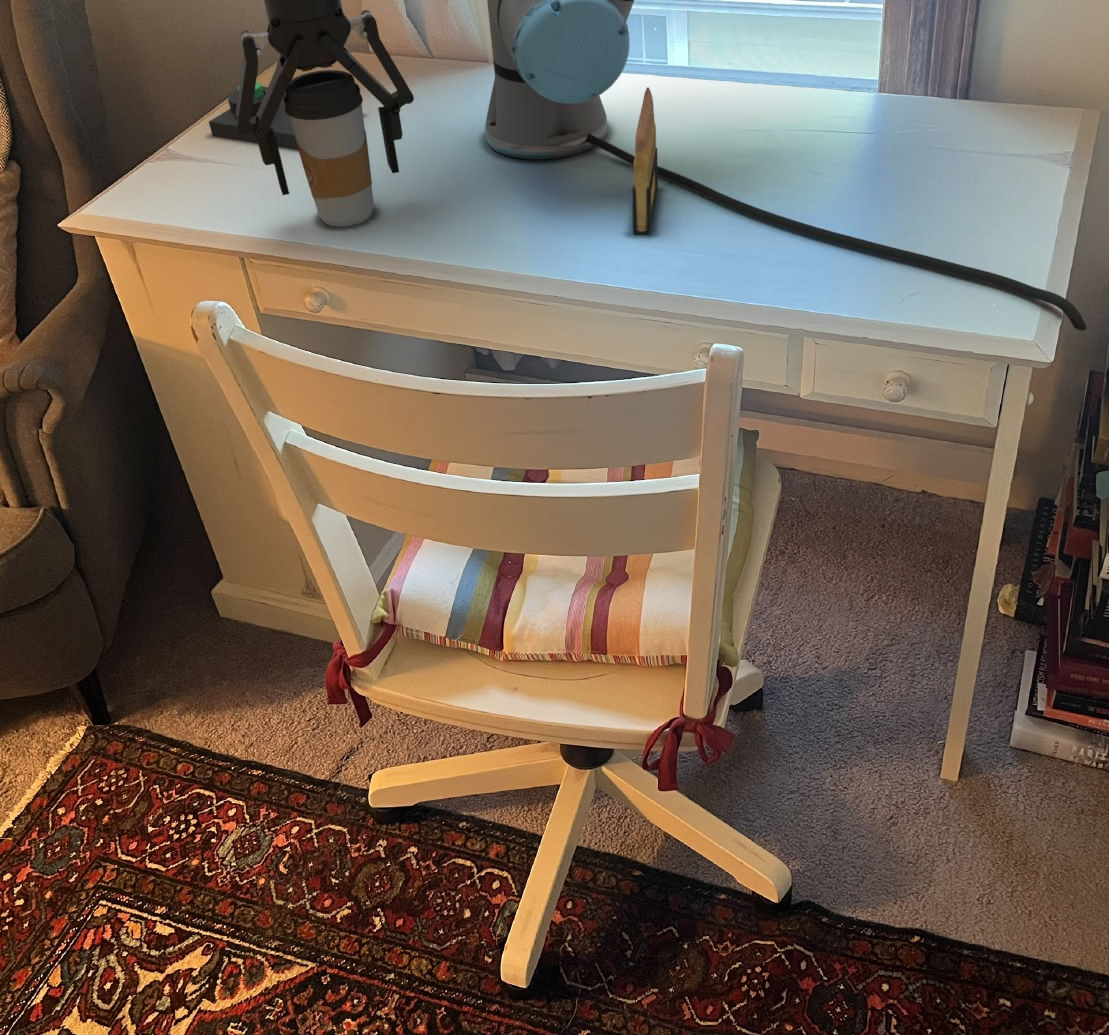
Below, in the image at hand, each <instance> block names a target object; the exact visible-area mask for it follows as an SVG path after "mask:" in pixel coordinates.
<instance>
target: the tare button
mask: <svg viewBox="0 0 1109 1035" xmlns="http://www.w3.org/2000/svg"><path fill="white" fill-rule="evenodd" d="M239 86H240V84H239V85H238V86H237V91H238V93H239ZM262 86H263V85H262V83H261V82H259V81H256V85H255V92H254V99H253V100H256V99H259V98H262V97H263V96H264V92H263V88H262Z"/></svg>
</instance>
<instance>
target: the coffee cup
mask: <svg viewBox="0 0 1109 1035" xmlns="http://www.w3.org/2000/svg"><path fill="white" fill-rule="evenodd" d="M363 100H364V98H363V96H362V94H361V88H360V86H359V84H358V83H356V81H355V77H354V76H353V75H352V74H351V73H350V72H347V71H344V70H338V69H337V70H336V69H328V70H327V69H326V70H325V69H323V70H316V71H311V72H307V73H303V74H301V75H299V76H296V77H293V78H292V80H291V81H290V82H289V85H288V87H287V89H286V94H285V96H284V103H285V111H286V113H287V114H288V115H289V118H290V122H291V125H292V128H293V132H294V135H295V138H296V141H297V142H296V144H297V148H298V149H297V151H298V154H299V156H300V161H301V163H302V167H303V170H304V174H305V178H306V180H307V184H308V188H309V190H310V193H311V196H312V198H313V201H314V204H315V208H316V210H317V214H318V216H319V218H320V219H321V220H322V222H323V223H324V224H326V225H328V226H332V227H339V228H340V227H341V228H342V227H350V226H355V225H358V224H361V223H363V222H365V221H367V220H368V219H369V218H370V217H371V216H372V215H373V210H374V209H375V208H374V207H375V203H374V195H373V180H372V172H371V163H370V162H371V161H370V156H369V155H370V154H369V147H368V138H367V130H366V128H365V120H364V119H365V118H364V111H363Z"/></svg>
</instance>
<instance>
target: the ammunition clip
mask: <svg viewBox="0 0 1109 1035" xmlns="http://www.w3.org/2000/svg"><path fill="white" fill-rule="evenodd" d="M641 104H642V105H641V108H640V112H639V113H640V114H639V118H638V122H637V127H636V132H635V142H634V146H635V148H634V156H635V158H634V165H633V184H632V189H631V192H632V195H631V196H632V234H640V235H641V234H648V235H649V234H651V232H652V226H653V220H654V215H655V208H656V202H657V196H658V190H659V189H658V187H659V186H658V185H659V184H658V183H659V182H658V176H659V175H658V172H657V166H658V147H657V129H656V128H657V127H656V122H655V110H654V109H655V108H654V99H653V94H652V91H651V89H650V87H646V89H645V91H644V95H643V99H642V103H641Z"/></svg>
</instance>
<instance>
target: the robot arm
mask: <svg viewBox="0 0 1109 1035" xmlns="http://www.w3.org/2000/svg"><path fill="white" fill-rule="evenodd" d="M486 1H487V12H488V13H487V14H488V22H489V32H490V42H491V51H492V62H493V72H494V79H493V84H492V89H491V94H490V99H489V104H488V109H487V114H486V119H485V126H484V127H485V135H486V141H487V144H488V145H489V146H490V148H491V149H493V150H494V151H495V152H498V153H500V154H502V155H505V156H508V157H512V158H516V159H517V158H518V159H524V160H549V159H559V158H565V157H570V156H573V155H574V156H575V155H577V154H579V153H583V152H585V151H588V150H590V149H592V148H594V147H597V148H599V149H601V150H603V151H605V152H607V153H609V154H612V155H613V156H615V157H617V158H619V159H621V160H623V161H625V162H627V163H629V164H631V165H633V166H634V158H635V155H634V154H631V153H629V152H627V151H625V150H624V149H621V148H619V147H617V146H615V145H614V144H611V143H610V142H608V141H605V140H604V139H605V137H606V136H607V133H608V122H607V120H608V119H607V113H606V110H605V107H604V105H603V101H602V99H601V95H602V94H604V93H605V92H606V91H607V90H609V89H610V88H611V87H613V85H614V84H615V83H616V81H617V80H618V79H619V78H620V77H621V74H622V73H623V72H624V69H625V67H626V65H627V61H628V58H629V55H630V54H629V53H630V32H629V26H628V24H627V21H628V18H629V15H630V13H631V11H632V8H633V5H634V3H635V0H486ZM263 3H264V7H265V11H266V17H267V22H268V26H267V29H266V31H261V32H255V33H254V32H253V33H252V32H250V31H249V30H243V31H242V32H240V36H239V38H240V43H241V47H242V53H243V57H242V58H243V59H242V65H241V73H240V79H239V85H240V86H239V85H238V86H239V93H238V100H237V108H236V115H235V124H236V128H237V131H238V133H239V134H241V135H245V134H251V135H254V136H255V137H256V138H257V141H258V143H257V146H258V149H259V153H260V156H261V160H262V163H263V164H264V165H265V166H271V165H274V169H275V173H276V177H277V182H278V185H279V189H280V192H281V194H282V196H287V195H290V191H289V187H288V183H287V178H286V174H285V173H286V172H285V170H284V166H283V165H284V164H283V161H282V158H281V153H280V148H279V146H278V145H277V140H276V136H275V133H274V131H273V128H272V127H271V128H270V126H271V124H272V122H273V119H274V117H275V115H276V112H277V110H278V108H279V105H280V103H281V101H282V99H283V96H284V94H285V92H286V89H287V87H288V85H289V82H290V81H291V80H292V79H294V76H295V74H296V73H297V72H296V71H297V70H299V71H302V72H303V73H304V72H309V71H313V70H314V69H316V68H323V69H326V68H332V67H333V65H334V64H335V63H337V62H338V63H339V64H340V65H341V66H342V67H343V68H344V69H345V70H346V71H348V73H349V74H351V75H352V76H353V78H354V79H356V80H357V82H359V83H360V84H361V85H362V86H363V87H364V88H365V89H366V90H367V91H368V92H369V93H370V94H371V95H372V96H373V97H374V98H375V99H376V100H377V101H378V102H379V103H380V104H381V105H382V106H378V108H377V110H378V115H379V122H380V126H381V132H382V139H383V143H384V149H385V156H386V162H387V165H388V167H389V169H390V171H391V173H392V174H397V173H400V169H399V168H400V167H399V162H398V156H397V150H396V145H395V144H396V143H395V141H399V140H402V139H403V134H404V133H403V128H402V122H401V121H402V120H401V116H400V112H401V109H402V107H403V106H405V105H409V104H412V103H413V102H414V101H415V97H414V94H413V92H412V91H411V89H410V88H409V86H408V84H407V82H406V81H405V79H404V77H403V75H402V74H401V72H400V70H399V69H398V67H397V65H396V64H395V61H394V60H393V58H392V57H391V55H390V52H388V50H387V48H386V46H385V45H384V43H383V41H382V40H381V38H380V34H379V33H380V32H379V28H378V24H377V23H378V22H377V20H376V18H375V17H374V15H373V14H372V12H371V11H370V10H367V9H364V10H362V11H361V13H360V14H359V15H354V16H348V17H347V16H346V14H345V13H344V10H343V5H342V0H263ZM352 31H355V32H356V33H357V35H358V36H359V38H361V39H362V40H363V39H364V40H365V39H366V41H367V42H368V44H369V46H370V48H371V49H372V51H373V53H374V54H375V56H376V58H377V59H378V61H379V63H380V64H381V66H382V68H383V69H384V71H385V73H386V74H387V77H388V78H389V79H390V81H391V83H392V84H393V86H394V88H395V91H393V92H392V93H390V91H389V90H388V89H387V88H386V87H385V86H384V85H383V84H382V83H381V82H380V81H379V80H378V79H377V78H376V77H375V76H374V75H373V74H372V73H371V72H370V71H369V70H368V69H367V68H366V67H365V66H364V65H363V64H361V63H360V61H358V59H357V58H356V57H355V56H354V55H353V54H352V53H351V52H350V51H349V50H348V49H347V48H346V47H345V45H346V43H347V41H348V39H349V36H350V34H351V32H352ZM268 45H270V46H271V47H272V48H273V50H275V51H276V53H278V54H279V57H278V60H277V62H276V66H275V69H274V72H273V74H272V76H271V79H270V82H269V84H268V86H267V87H268V89H267V91H266V93H265V96H264V98H263V100H262V103H261V105H260V107H259V110H258V112H257V114H256V117H255V119H251V112H252V105H253V99H254V92H255V85H256V82H257V79H258V78H257V77H258V72H259V58H261V57H262V56H264V54H265V49H266V47H267V46H268ZM657 172H658V176H659V177H661V178H664V179H667V180H669V181H672V182H674V183H676V184H678V185H681V186H683V187H686V188H688V189H690V190H692V191H694V192H697V193H699V194H701V195H703V196H706V197H707V198H709V199H712V200H714V201H715V202H718V203H720V204H722V205H725V206H726V207H729V208H731V209H734V210H737V211H739V212H741V213H744V214H746V215H749V216H751V217H755V218H757V219H760V220H761V221H765V222H768V223H771V224H774V225H777V226H778V227H779V226H780V227H782V228H786V229H789V230H792V231H795V232H798V233H801V234H805V235H808V236H811V237H815V238H819V239H822V240H824V241H828V242H832V243H836V244H839V245H843V246H848V247H850V248H854V249H859V250H862V251H865V252H869V253H873V254H877V255H881V256H885V257H889V258H893V259H896V260H901V261H904V262H908V263H913V264H916V265H919V266H924V267H928V268H932V269H935V270H939V271H941V272H946V273H950V274H953V275H957V276H962V277H964V278H969V279H973V280H976V281H977V280H978V281H981V282H985V283H988V284H992V285H994V286H998V287H1002V288H1005V289H1007V290H1010V291H1013V292H1015V293H1018V294H1021V295H1023V296H1025V297H1028V298H1031V299H1034V300H1037V301H1042V302H1045V303H1048V304H1051V305H1053V306H1055V307H1057V308H1058V309H1059V310H1061V311H1062V312H1063V313H1064V314H1065V315H1066V317H1067V318H1068V320H1069V321H1070V323H1071V324H1072V326H1073V328H1074V329H1076V330H1079V331H1086V330H1087V325H1086V324H1087V323H1086V322H1085V320H1084V318H1083V316H1082V315H1081V313H1080V312H1079V310H1078V309H1077V308H1076V307H1075V306H1074V305H1073V303H1071V302H1070V301H1069V300H1068V299H1066V298H1065V297H1063V296H1062V295H1059V294H1057V293H1055V292H1051V291H1049V290H1045V289H1042V288H1038V287H1035V286H1032V285H1030V284H1027V283H1024V282H1022V281H1019V280H1016V279H1013V278H1010V277H1008V276H1004V275H1001V274H997V273H995V272H990V271H987V270H984V269H983V270H982V269H979V268H975V267H971V266H967V265H963V264H959V263H955V262H951V261H948V260H945V259H940V258H936V257H933V256H929V255H925V254H921V253H917V252H913V251H909V250H905V249H901V248H896V247H893V246H889V245H885V244H881V243H877V242H873V241H870V240H866V239H862V238H858V237H856V236H855V237H854V236H851V235H847V234H844V233H840V232H835V231H831V230H828V229H824V228H820V227H817V226H815V225H810V224H807V223H805V222H801V221H797V220H794V219H791V218H789V217H785V216H781V215H779V214H776V213H773V212H770V211H766V210H764V209H761V208H759V207H756V206H753V205H751V204H748V203H745V202H743V201H741V200H738V199H735V198H733V197H730V196H728V195H726V194H724V193H721V192H719V191H718V190H715V189H713V188H711V187H708V186H707V185H705V184H702V183H700V182H698V181H695V180H694V179H691V178H689V177H687V176H685V175H682V174H680V173H677V172H675V171H672V170H669V169H667V168H664V167H662V166H659V165H657Z"/></svg>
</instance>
